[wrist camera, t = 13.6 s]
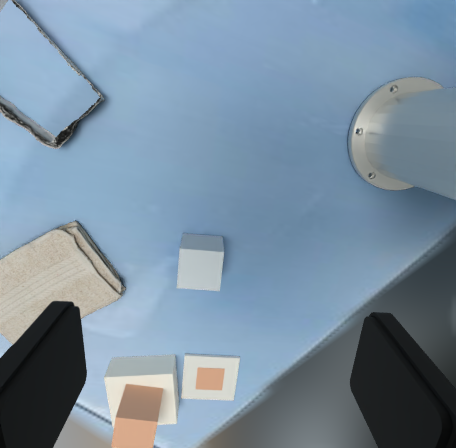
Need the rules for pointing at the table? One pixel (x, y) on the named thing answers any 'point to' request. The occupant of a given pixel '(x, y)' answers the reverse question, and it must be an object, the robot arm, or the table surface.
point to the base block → (144, 382)
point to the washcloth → (54, 278)
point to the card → (209, 377)
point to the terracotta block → (137, 417)
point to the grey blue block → (200, 262)
